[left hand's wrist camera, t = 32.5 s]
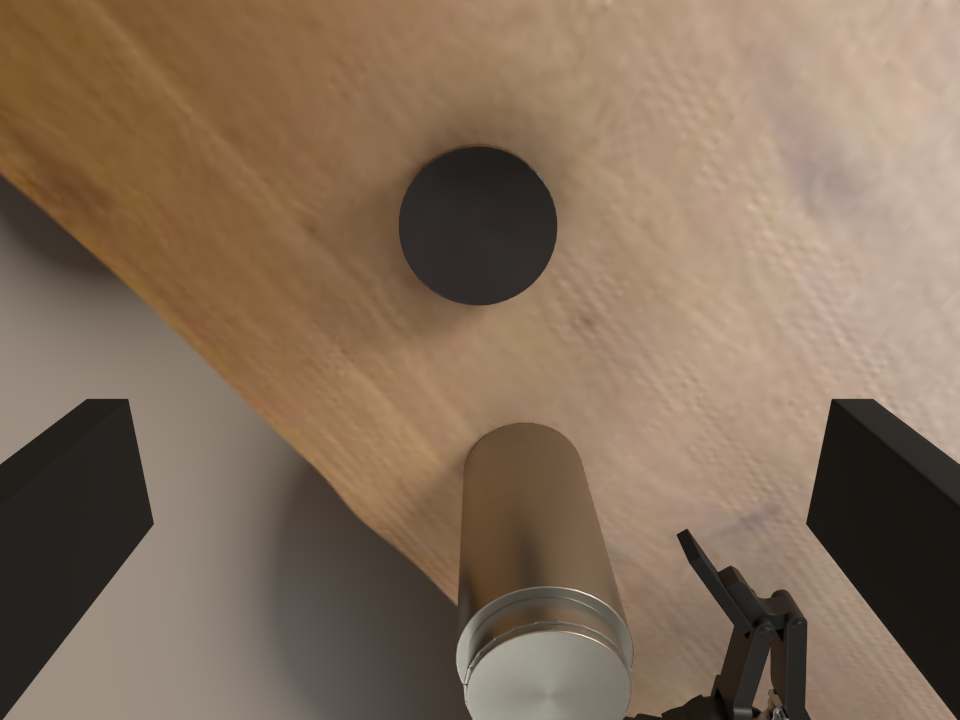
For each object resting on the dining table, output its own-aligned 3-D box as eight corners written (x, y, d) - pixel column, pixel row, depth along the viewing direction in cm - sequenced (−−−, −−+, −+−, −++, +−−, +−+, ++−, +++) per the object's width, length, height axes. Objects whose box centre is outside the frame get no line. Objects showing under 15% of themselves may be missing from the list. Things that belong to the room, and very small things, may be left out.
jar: (443, 498, 46) (422, 726, 29) (498, 403, 44) (509, 592, 27) (546, 543, 47) (582, 786, 31) (605, 453, 45) (680, 664, 28)
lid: (452, 320, 42) (450, 331, 39) (374, 194, 39) (368, 199, 37) (579, 249, 40) (584, 258, 38) (507, 113, 37) (508, 114, 35)
